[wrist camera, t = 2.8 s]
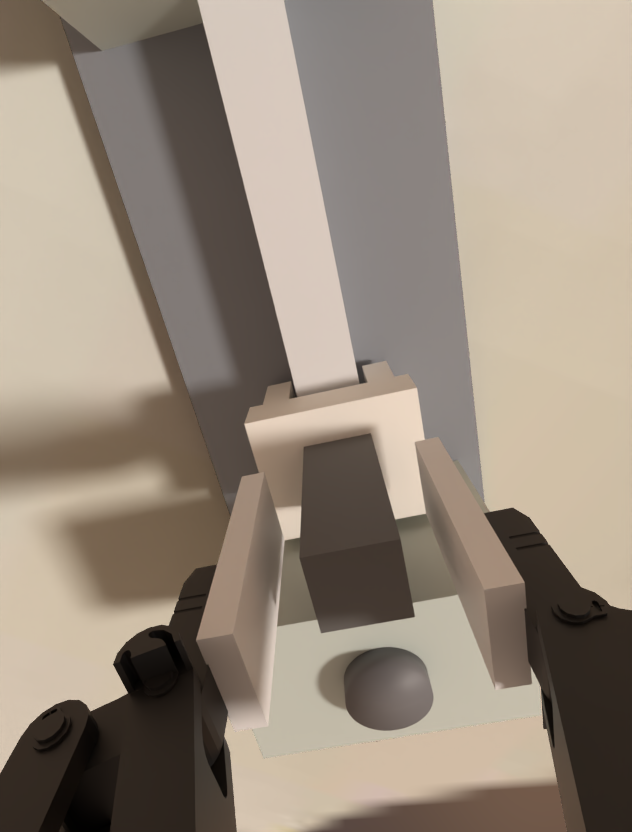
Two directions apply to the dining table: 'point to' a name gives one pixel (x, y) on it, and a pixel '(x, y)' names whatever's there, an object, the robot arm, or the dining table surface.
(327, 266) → the rail fixture
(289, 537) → the block
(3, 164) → the dining table surface
